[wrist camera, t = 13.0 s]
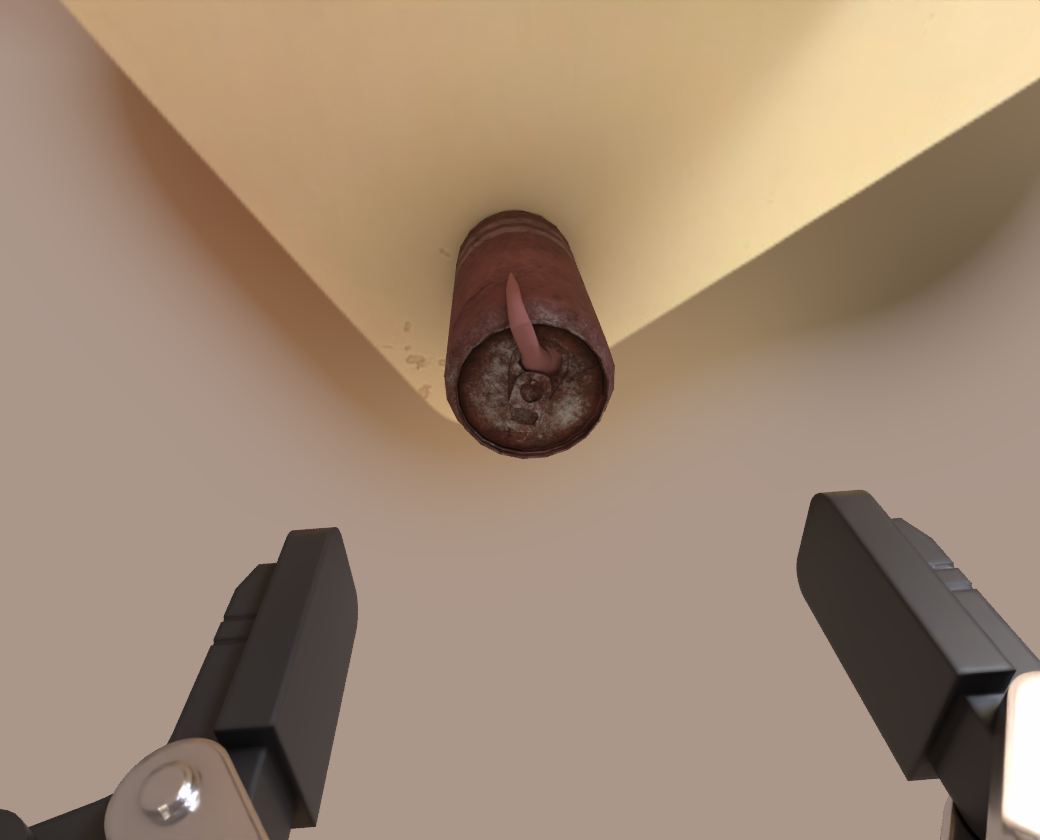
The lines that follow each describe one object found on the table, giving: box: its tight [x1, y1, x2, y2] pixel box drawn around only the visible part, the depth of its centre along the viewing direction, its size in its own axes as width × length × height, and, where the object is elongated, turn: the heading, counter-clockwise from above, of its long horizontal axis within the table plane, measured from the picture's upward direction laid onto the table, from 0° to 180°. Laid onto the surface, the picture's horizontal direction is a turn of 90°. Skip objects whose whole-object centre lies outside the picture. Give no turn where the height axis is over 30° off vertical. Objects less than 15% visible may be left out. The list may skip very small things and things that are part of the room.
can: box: [444, 211, 615, 459], centre depth 28 cm, size 6×6×14 cm
